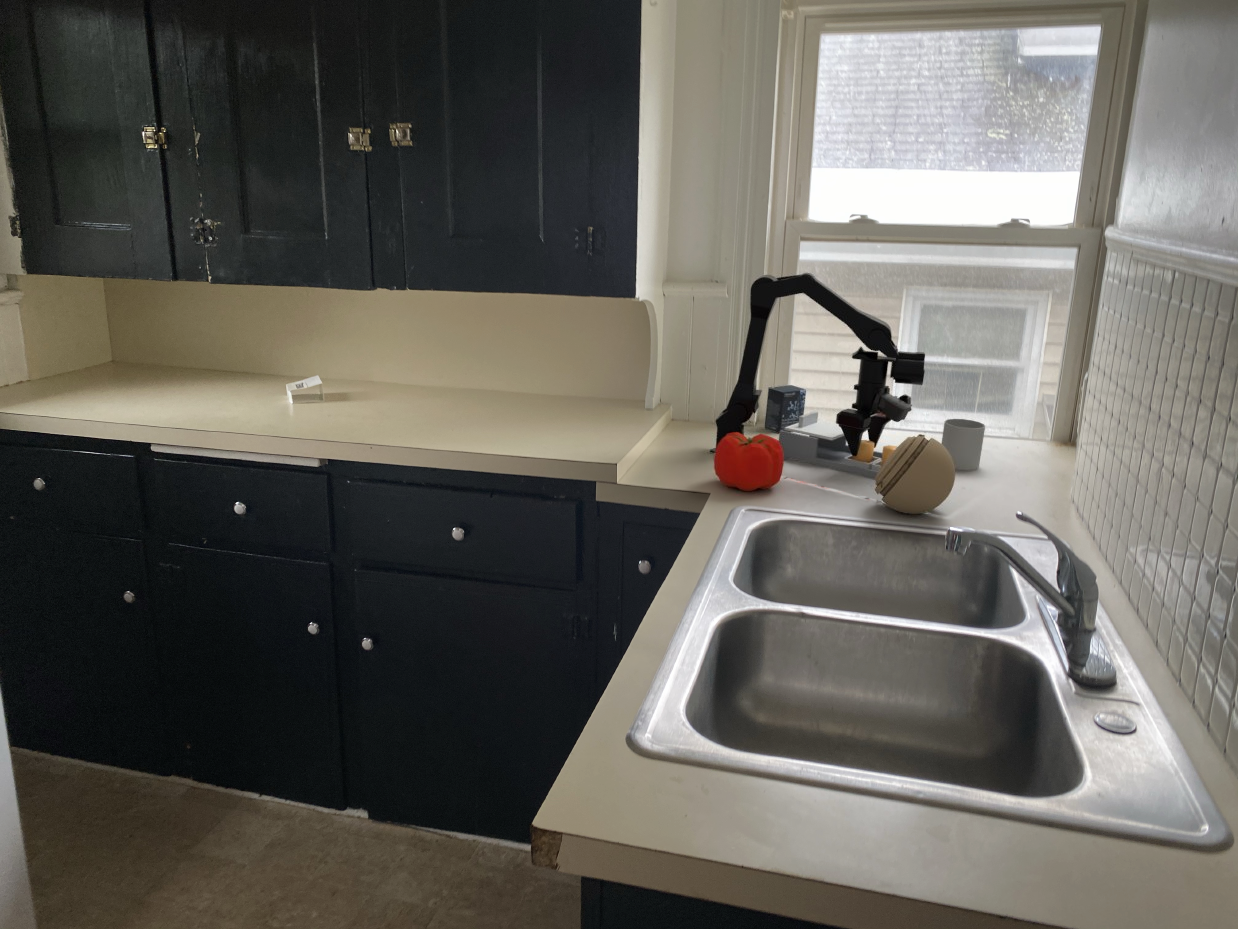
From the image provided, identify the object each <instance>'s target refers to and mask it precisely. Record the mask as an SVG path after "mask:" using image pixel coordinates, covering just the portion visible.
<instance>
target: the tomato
mask: <svg viewBox="0 0 1238 929" xmlns="http://www.w3.org/2000/svg"><path fill="white" fill-rule="evenodd" d="M715 448H716V447H715ZM784 462H785V461H784V455H783V449H782V446H781V444H780V442H779V439H776V438H774V437H772V436H770V435H766V434H763V433H759V434H758V435H757V434H756V435H754V436H753V437H746V436H745V434H744V435H742V434H740V433H738V432H733V433H728V434H727V435H726V436H725V437H723V438H722V439H721V441H720V442H719V443H718V445H717V448H716V451H715V453H714V459H713V469H714V472H715V475H716V476H717V478H718V479H719V480H720V482H721V483H722V484H723V485H725V486H726V487H728V488H729V487H730V488H737V489H739V490H741V491H744V492H751V491H754V490H757V489H763V490H764V489H769V488H772V487H773V486H775V485H777V484H778V483H779V482H780V480H781V477H782V475H783V470H784V469H783V468H784Z"/></svg>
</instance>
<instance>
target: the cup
mask: <svg viewBox="0 0 1238 929" xmlns="http://www.w3.org/2000/svg"><path fill="white" fill-rule="evenodd" d="M985 430H986V425H985V424H984V423H982V422H980V421H977V420H974V419H973V420H971V419H965V418H947V419H945V420H944V422H943V430H942V436H941V442H940V443H941V444H942V445H943V446H944V447H945V448H946V449H947V451H948V452H949V454H950V455H951V457H952V460H953V463H954V467H955V470H959V471H975V470H978V469H979V468H980V464H981V456H982V450H983V443H984V439H985V438H984V437H985V432H986V431H985Z"/></svg>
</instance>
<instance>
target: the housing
mask: <svg viewBox="0 0 1238 929" xmlns="http://www.w3.org/2000/svg"><path fill="white" fill-rule="evenodd" d="M778 434H779V436H778V441H779V442H780V444H781V446H782V449H783V455H784V460H785V461H786V460H795V461H799V462H804V463H808V464H811V465H816V466H820V467H825V468H830V469H834V470H837V471H841V472H845V473H850V474H853V475H854V474H855V475H858V476H863V477H867V478H871V479H875V477H876V476H877V474H878V472H879V470H880V469H881V467H882V466H881V460H882V452H881V451H877V450H874V451H873V460H872V462H870V463H866V462H861V461H857V460H853V459H854V456H853V455H852V454H851V452H850V449H849V446H848V444H847V441H846V438H845V436H842V437H839V438H837V439H834V440H828V439H824V438H819V437H814V436H810V435H805V434H801V433H796V432H791V431H790V432H786V431H782V430H781V431H780V433H778Z"/></svg>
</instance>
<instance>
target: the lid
mask: <svg viewBox="0 0 1238 929" xmlns="http://www.w3.org/2000/svg"><path fill="white" fill-rule="evenodd" d="M818 417H819V411H811V412H807V413H804V415H802V416H799V423H796V424H793V425H790V426H788V427H785V430H787V431H790V432H791V433H795V434H800V435H805V436H809V435H810V436H814V437H819V438H824V439H828V440H834V439H837V438H839V437H842V436H844V434H843V431H842V429H841V427H839V424H837V423H836V422H834V421H828V420H823V419H819V418H818Z"/></svg>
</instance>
